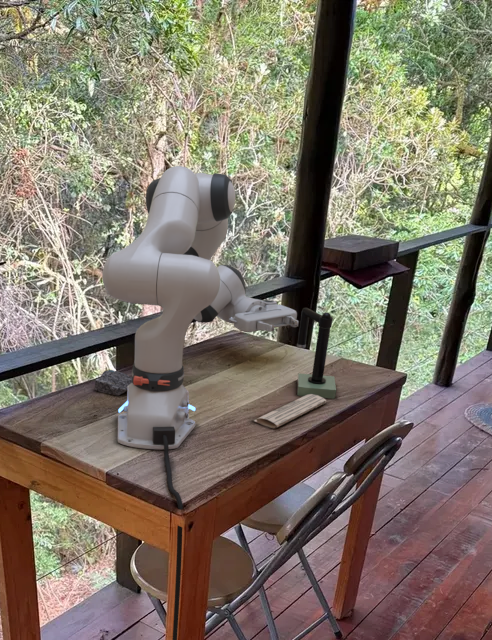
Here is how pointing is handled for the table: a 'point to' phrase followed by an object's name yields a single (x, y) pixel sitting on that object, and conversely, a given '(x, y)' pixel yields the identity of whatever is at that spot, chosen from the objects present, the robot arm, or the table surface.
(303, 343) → the spout
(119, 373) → the rock
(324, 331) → the tap pillar
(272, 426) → the beige flat ridged bar
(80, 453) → the table surface
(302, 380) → the block
